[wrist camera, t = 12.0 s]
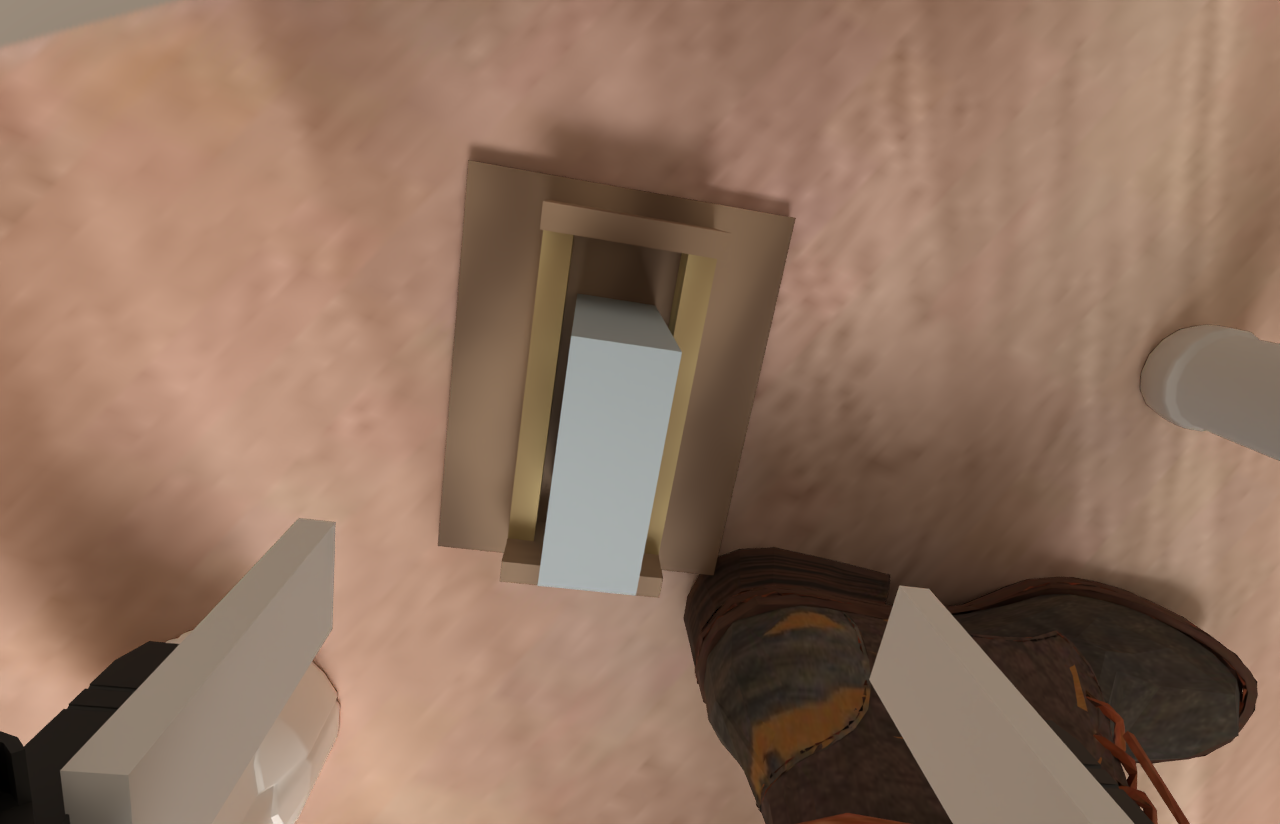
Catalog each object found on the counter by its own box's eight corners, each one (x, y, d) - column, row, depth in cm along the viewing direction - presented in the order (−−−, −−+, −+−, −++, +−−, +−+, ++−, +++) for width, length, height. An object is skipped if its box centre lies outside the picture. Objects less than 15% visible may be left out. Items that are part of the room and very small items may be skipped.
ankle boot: (1127, 751, 41) (1580, 1224, 22) (657, 688, 37) (726, 1203, 18) (1214, 600, 38) (1834, 1005, 19) (708, 511, 34) (857, 917, 15)
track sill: (789, 217, 29) (827, 221, 24) (710, 564, 35) (728, 623, 30) (472, 161, 27) (447, 154, 23) (442, 535, 33) (417, 593, 28)
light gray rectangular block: (655, 305, 29) (682, 352, 20) (624, 487, 32) (635, 595, 23) (577, 293, 29) (571, 335, 20) (552, 479, 31) (537, 585, 23)
